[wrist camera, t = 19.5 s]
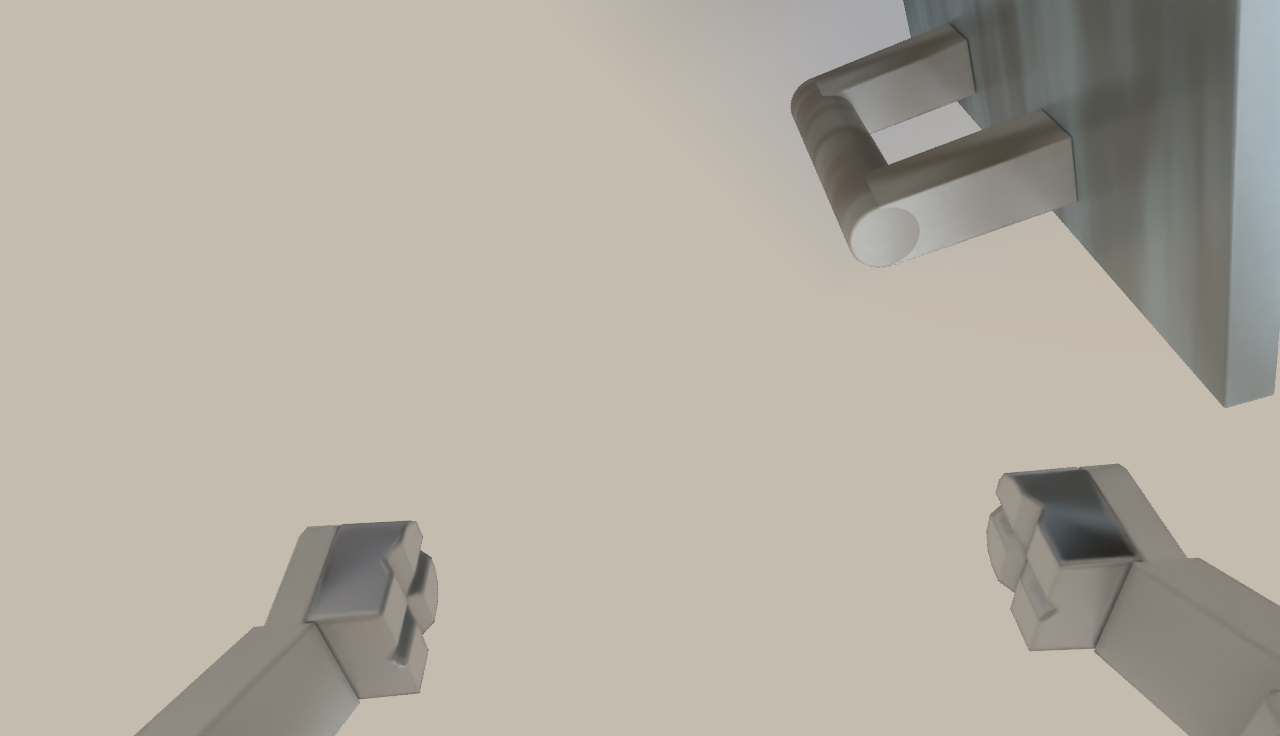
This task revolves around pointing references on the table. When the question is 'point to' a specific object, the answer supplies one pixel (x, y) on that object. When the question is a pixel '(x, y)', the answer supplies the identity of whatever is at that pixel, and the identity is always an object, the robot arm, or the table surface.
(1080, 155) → the cupboard door
